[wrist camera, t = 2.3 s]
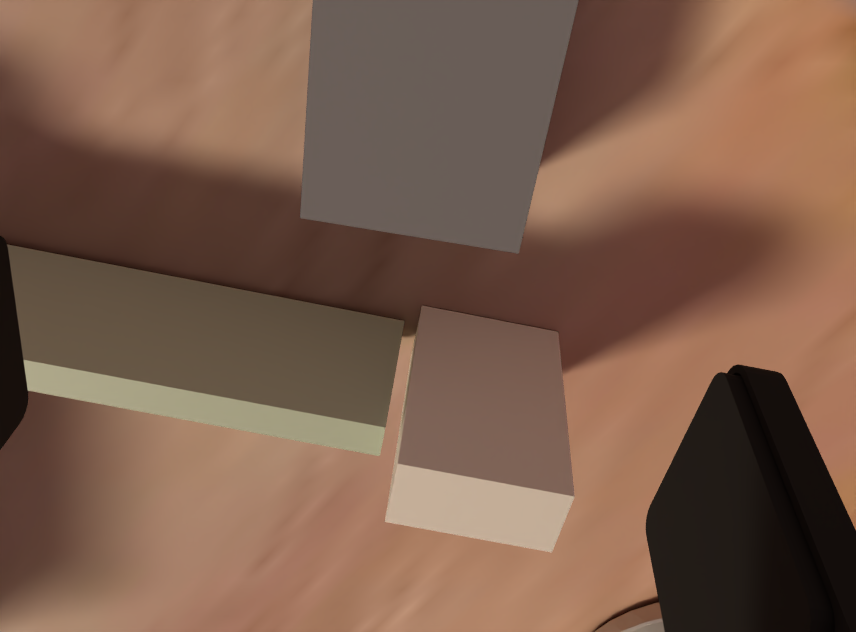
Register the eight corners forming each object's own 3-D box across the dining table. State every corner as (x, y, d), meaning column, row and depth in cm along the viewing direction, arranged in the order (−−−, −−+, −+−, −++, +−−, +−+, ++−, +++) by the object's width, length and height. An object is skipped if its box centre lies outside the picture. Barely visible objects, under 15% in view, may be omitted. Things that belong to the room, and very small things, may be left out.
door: (405, 316, 29) (385, 429, 24) (398, 351, 30) (377, 467, 25) (-111, 217, 28) (-241, 312, 23) (-102, 256, 29) (-226, 355, 24)
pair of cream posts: (560, 324, 29) (577, 488, 22) (539, 388, 31) (549, 559, 24) (-191, 179, 28) (-405, 305, 21) (-170, 253, 30) (-363, 392, 23)
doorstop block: (567, -56, 22) (582, -16, 18) (515, 177, 26) (518, 253, 22) (351, -92, 22) (316, -61, 18) (332, 147, 26) (300, 217, 22)
